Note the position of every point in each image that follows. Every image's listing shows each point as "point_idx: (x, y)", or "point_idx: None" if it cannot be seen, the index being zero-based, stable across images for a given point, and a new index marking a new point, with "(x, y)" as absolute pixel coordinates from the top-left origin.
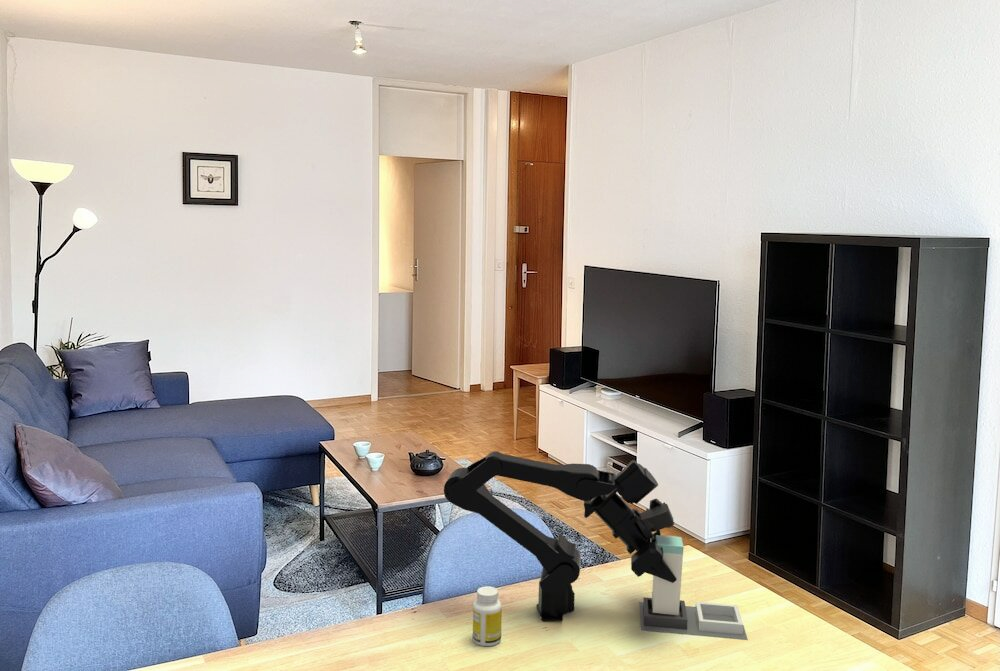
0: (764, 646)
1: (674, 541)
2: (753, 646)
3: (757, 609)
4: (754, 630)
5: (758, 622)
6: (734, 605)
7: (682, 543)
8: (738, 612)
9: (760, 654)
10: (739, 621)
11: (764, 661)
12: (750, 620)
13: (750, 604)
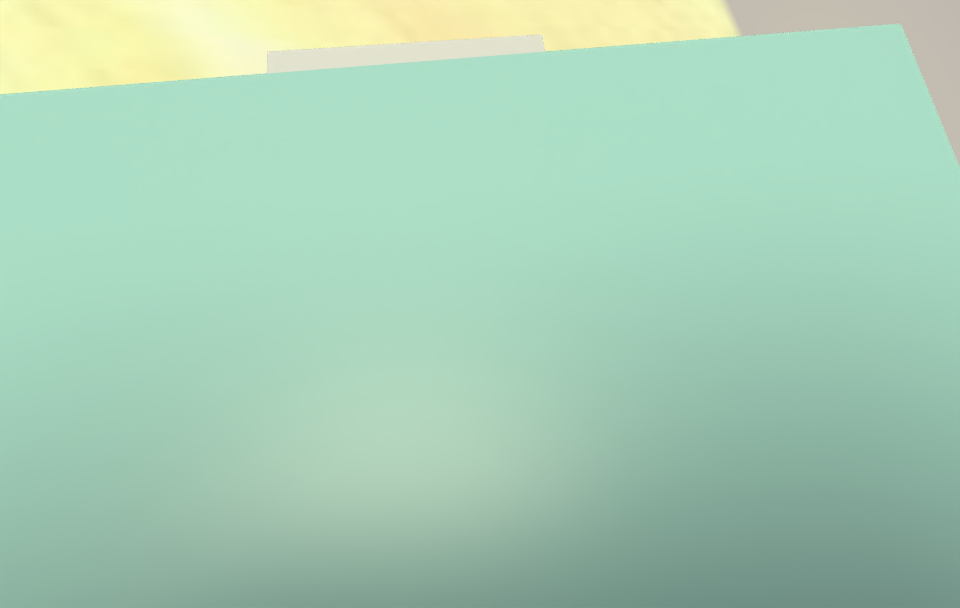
0: (566, 4)
1: (465, 380)
2: None
3: (135, 5)
4: (402, 35)
5: (301, 11)
6: (276, 68)
7: (580, 58)
8: (375, 51)
9: (656, 26)
10: (504, 51)
11: (718, 15)
12: (285, 46)
13: (73, 34)
